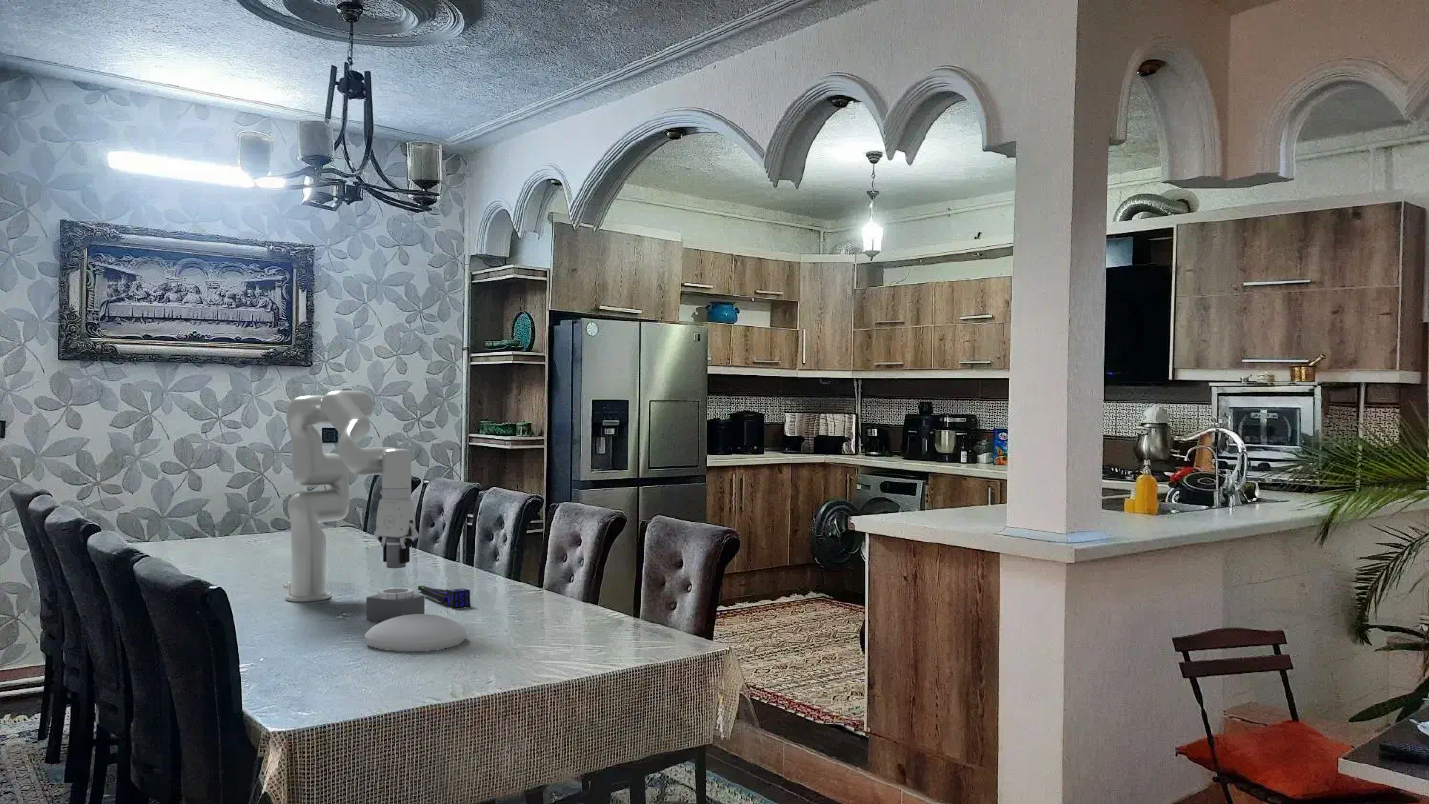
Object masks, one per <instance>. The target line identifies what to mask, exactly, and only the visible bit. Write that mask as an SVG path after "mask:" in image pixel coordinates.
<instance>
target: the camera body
mask: <svg viewBox="0 0 1429 804" xmlns="http://www.w3.org/2000/svg"><path fill="white" fill-rule="evenodd" d="M425 595H426V594H416V593H414V589H413V588H411V587H388V588H382V589H380V590H378V591H377V594H374V595H370V596H367V597H366V606H365V607H366V610H365V611H366V612H365V614H366V615H365V617H366V618H365V619H366V620H368V621H375V622H380V623H381V622H383V621H385V620H388V619H391V618H394V617H398V616H403V615H411V614H425V607H426V606H425V604H426V603H425V599H426V598H425Z"/></svg>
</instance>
